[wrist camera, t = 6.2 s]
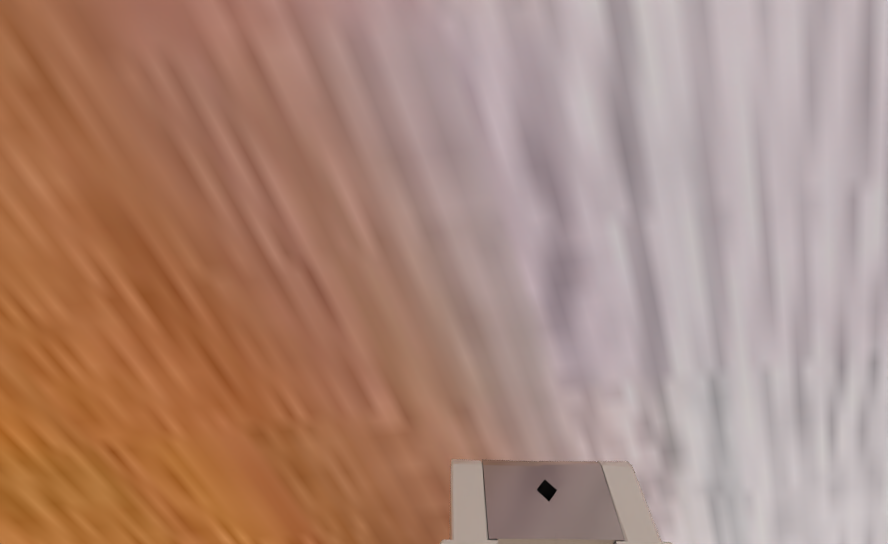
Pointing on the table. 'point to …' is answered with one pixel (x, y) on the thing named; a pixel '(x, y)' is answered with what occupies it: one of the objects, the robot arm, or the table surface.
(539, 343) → the table surface
